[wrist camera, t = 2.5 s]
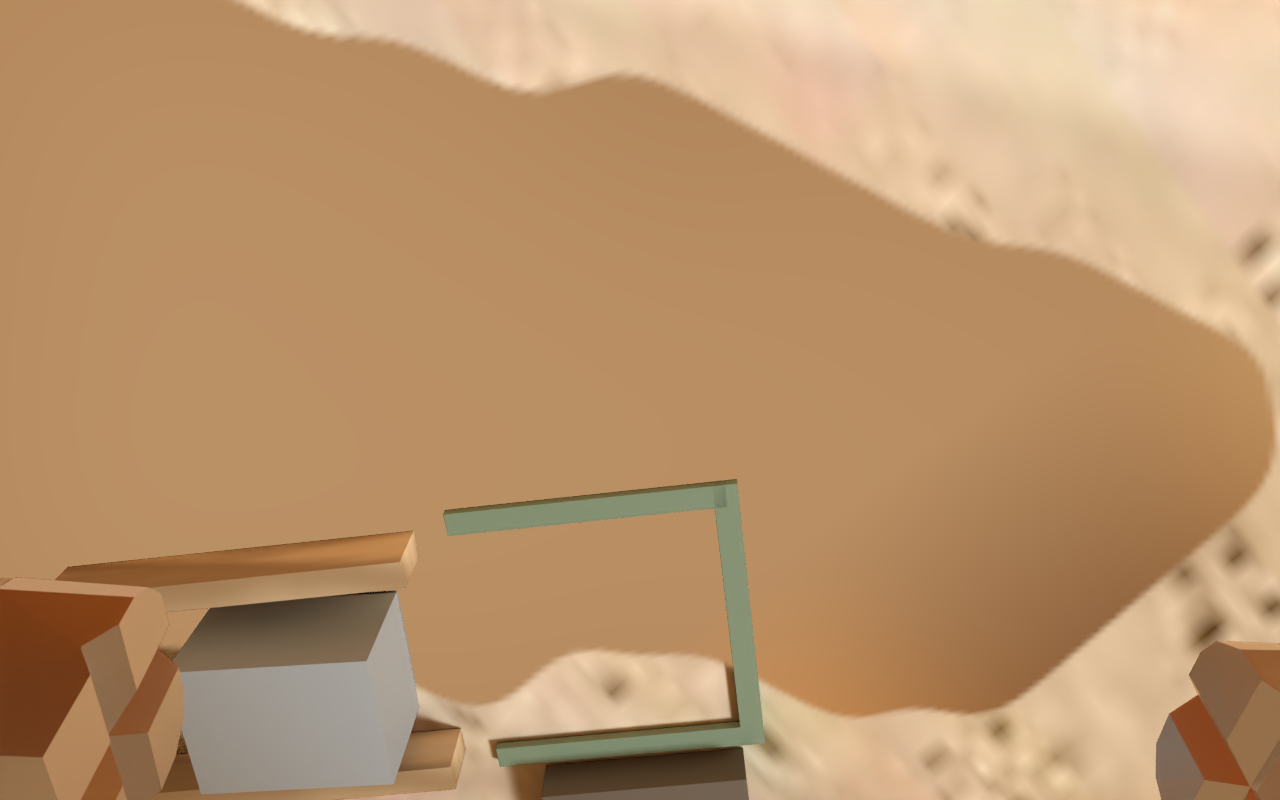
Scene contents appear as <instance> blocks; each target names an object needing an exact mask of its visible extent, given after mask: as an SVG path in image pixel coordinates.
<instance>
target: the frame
mask: <svg viewBox="0 0 1280 800" xmlns="http://www.w3.org/2000/svg"><path fill="white" fill-rule="evenodd" d="M713 508H715V512H716V522H717V530H718V539H719V547H720V556H721V565H722V574H723V582H724V591H725V600H726V608H727V616H728V625H729V634H730V642H731V651H732V660H733V668H734V677H735V686H736V694H737V703H738V712H739V720H740V721H738V722H727V723H716V724H705V725H694V726H683V727H672V728H661V729H650V730H639V731H627V732H616V733H605V734H594V735H583V736H572V737H561V738H550V739H539V740H528V741H517V742H505V743H497V747H496V751H497V756H498V760H499V765H500V767H504V766H515V765H526V764H538V763H549V762H560V761H572V760H583V759H594V758H605V757H617V756H628V755H639V754H651V753H662V752H673V751H685V750H696V749H707V748H718V747H730V746H741V745H752V744H764V743H765V740H764V731H763V721H762V712H761V702H760V693H759V684H758V674H757V665H756V656H755V646H754V636H753V627H752V618H751V609H750V599H749V589H748V580H747V570H746V562H745V553H744V542H743V533H742V523H741V514H740V504H739V496H738V486H737V479H734V480H724V481H715V482H706V483H696V484H686V485H678V486H668V487H658V488H649V489H639V490H630V491H620V492H612V493H602V494H592V495H582V496H573V497H564V498H554V499H544V500H535V501H526V502H516V503H507V504H497V505H488V506H479V507H469V508H459V509H451V510H445V512H444V514H443V516H444V520H445V525H446V529H447V533H448V536H454V535H462V534H472V533H482V532H492V531H501V530H511V529H521V528H529V527H540V526H549V525H559V524H569V523H578V522H588V521H597V520H607V519H617V518H625V517H636V516H645V515H655V514H665V513H674V512H684V511H694V510H703V509H713Z"/></svg>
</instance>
